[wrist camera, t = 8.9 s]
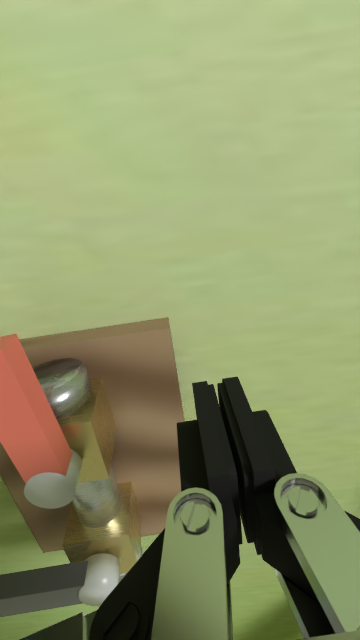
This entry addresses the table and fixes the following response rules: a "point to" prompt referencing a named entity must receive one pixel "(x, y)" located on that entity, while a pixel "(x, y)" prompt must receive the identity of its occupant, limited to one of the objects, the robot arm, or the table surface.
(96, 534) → the steel pipe with valves
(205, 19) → the table surface
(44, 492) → the red valve lever
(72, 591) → the black valve lever
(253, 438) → the robot arm
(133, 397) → the pipe board
